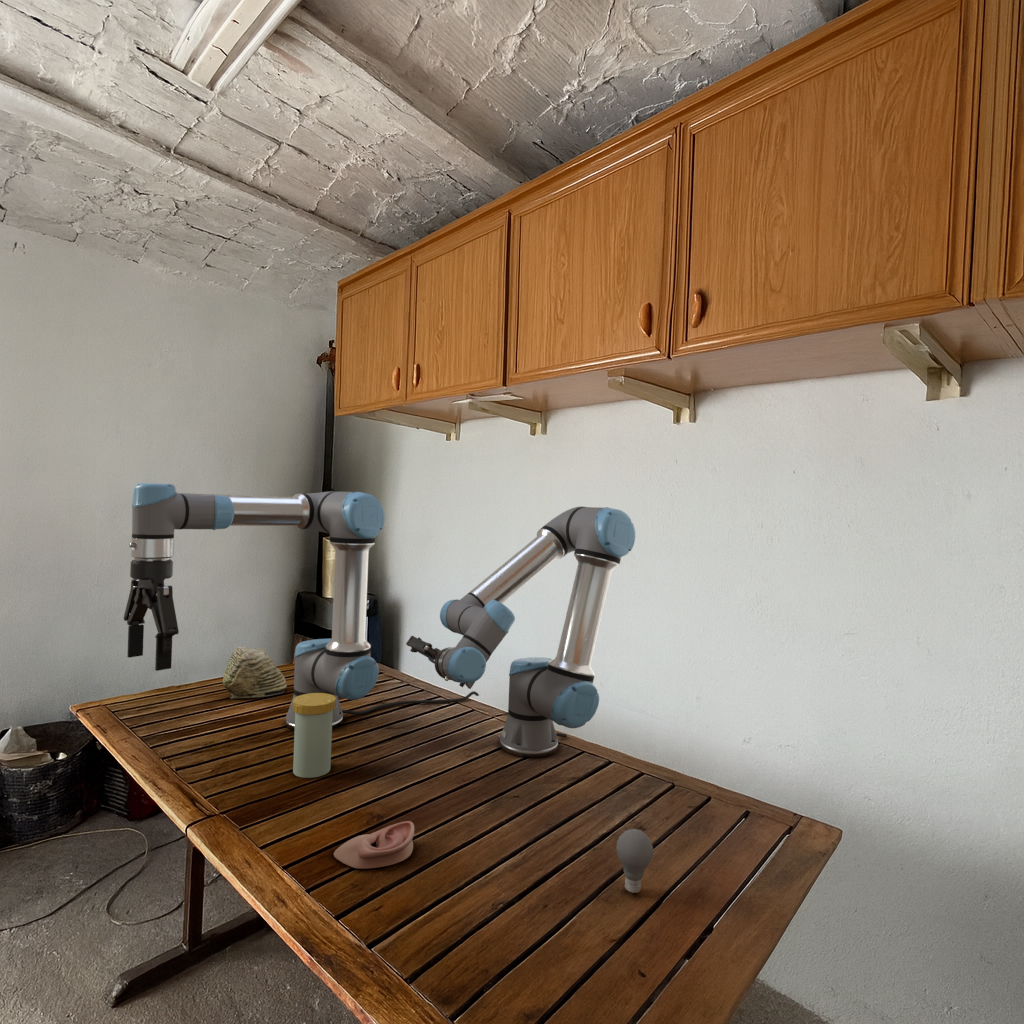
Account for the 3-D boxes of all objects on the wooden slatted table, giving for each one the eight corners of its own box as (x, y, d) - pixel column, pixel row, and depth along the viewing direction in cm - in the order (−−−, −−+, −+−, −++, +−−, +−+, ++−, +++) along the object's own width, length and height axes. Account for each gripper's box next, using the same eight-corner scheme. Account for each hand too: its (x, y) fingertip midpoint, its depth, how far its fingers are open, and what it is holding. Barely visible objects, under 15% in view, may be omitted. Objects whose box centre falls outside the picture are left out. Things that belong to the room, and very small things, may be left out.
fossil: (218, 695, 195) (220, 647, 195) (278, 685, 208) (279, 640, 207) (228, 703, 189) (230, 653, 188) (289, 692, 201) (290, 645, 201)
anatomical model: (325, 840, 109) (355, 809, 121) (324, 863, 109) (354, 830, 121) (398, 852, 107) (421, 819, 118) (397, 876, 107) (420, 840, 118)
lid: (320, 698, 153) (321, 690, 153) (343, 708, 147) (344, 699, 147) (284, 707, 146) (284, 698, 146) (307, 718, 139) (307, 708, 139)
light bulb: (610, 879, 108) (613, 822, 108) (644, 879, 109) (647, 822, 109) (619, 902, 102) (622, 840, 102) (655, 901, 103) (658, 840, 103)
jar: (317, 759, 152) (320, 693, 152) (337, 770, 147) (340, 701, 147) (286, 769, 146) (288, 700, 146) (305, 781, 141) (308, 709, 140)
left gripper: (108, 554, 134) (104, 654, 134) (159, 565, 118) (155, 678, 119) (146, 552, 140) (143, 648, 140) (199, 563, 124) (195, 671, 124)
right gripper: (400, 646, 145) (388, 646, 164) (487, 707, 148) (464, 700, 168) (419, 619, 147) (405, 622, 167) (504, 679, 151) (480, 676, 170)
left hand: (148, 662), depth 129 cm, fingers open, 13 cm apart
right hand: (434, 661), depth 167 cm, fingers open, 13 cm apart
